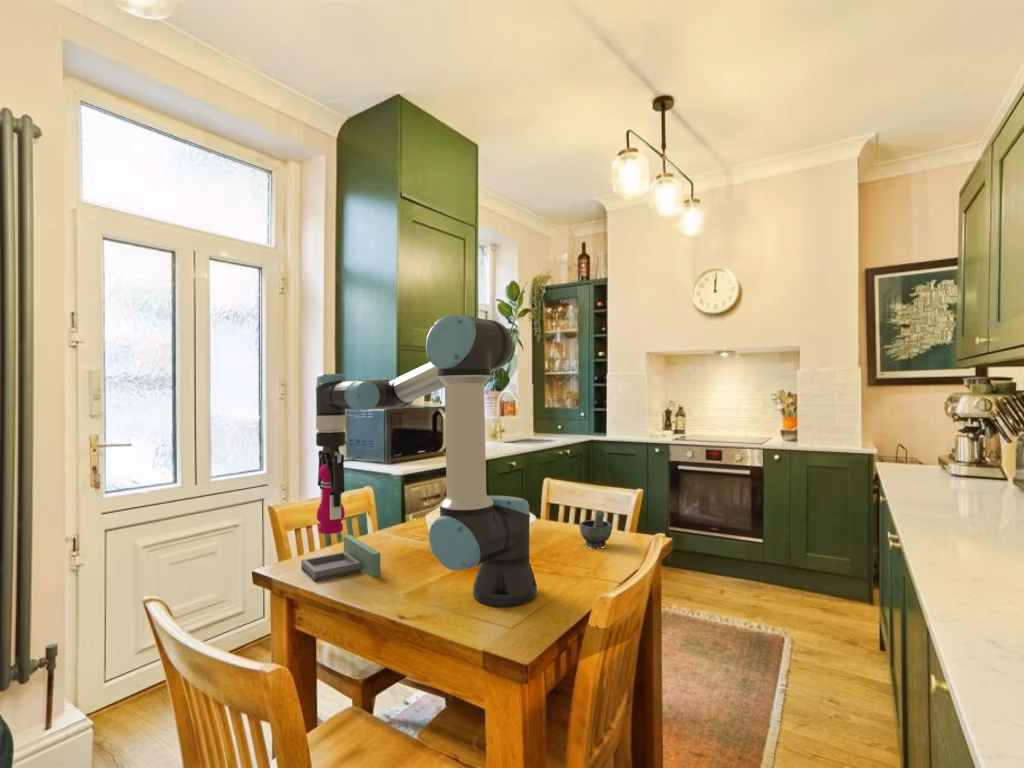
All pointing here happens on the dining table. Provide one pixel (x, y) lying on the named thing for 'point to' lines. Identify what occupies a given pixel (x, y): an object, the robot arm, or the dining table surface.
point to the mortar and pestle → (596, 531)
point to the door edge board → (363, 555)
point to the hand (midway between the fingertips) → (330, 515)
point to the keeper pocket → (330, 566)
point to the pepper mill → (327, 507)
